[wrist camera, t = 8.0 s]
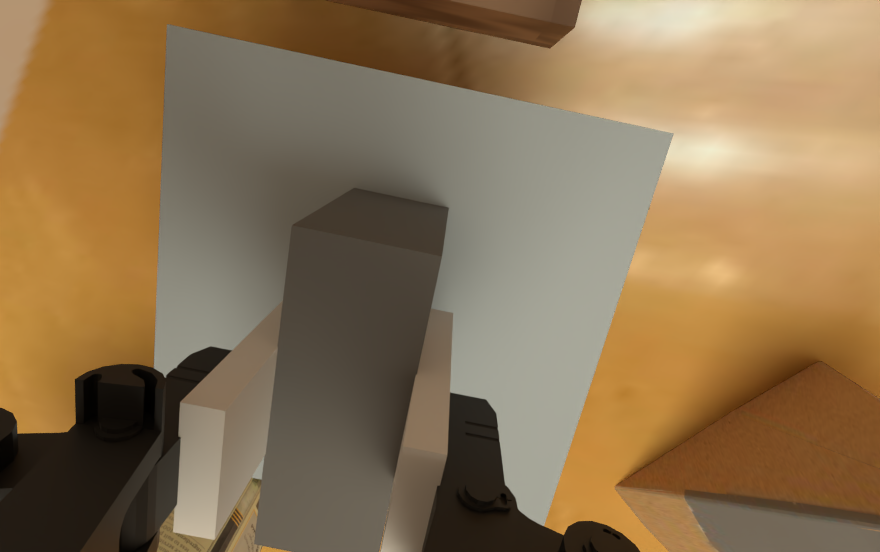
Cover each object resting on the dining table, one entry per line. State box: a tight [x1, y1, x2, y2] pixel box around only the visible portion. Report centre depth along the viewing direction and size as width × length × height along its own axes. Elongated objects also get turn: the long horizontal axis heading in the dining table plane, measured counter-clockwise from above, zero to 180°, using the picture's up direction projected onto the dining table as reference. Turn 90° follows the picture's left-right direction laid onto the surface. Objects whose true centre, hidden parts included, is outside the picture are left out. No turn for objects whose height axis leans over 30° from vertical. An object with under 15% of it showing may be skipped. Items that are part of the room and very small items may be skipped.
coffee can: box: [157, 478, 263, 552], centre depth 28 cm, size 10×10×14 cm
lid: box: [154, 24, 673, 552], centre depth 14 cm, size 15×15×7 cm
